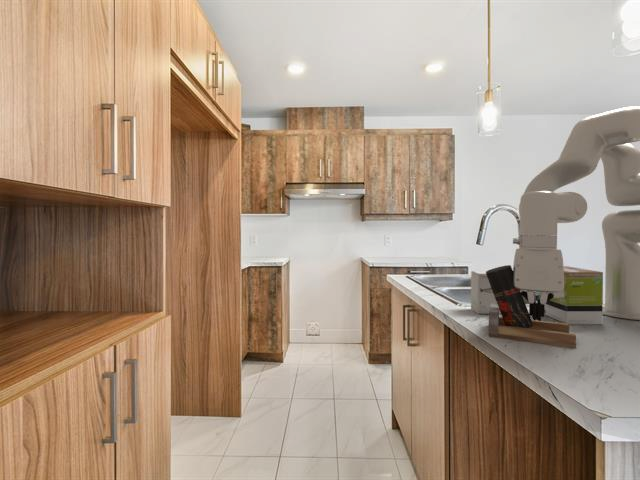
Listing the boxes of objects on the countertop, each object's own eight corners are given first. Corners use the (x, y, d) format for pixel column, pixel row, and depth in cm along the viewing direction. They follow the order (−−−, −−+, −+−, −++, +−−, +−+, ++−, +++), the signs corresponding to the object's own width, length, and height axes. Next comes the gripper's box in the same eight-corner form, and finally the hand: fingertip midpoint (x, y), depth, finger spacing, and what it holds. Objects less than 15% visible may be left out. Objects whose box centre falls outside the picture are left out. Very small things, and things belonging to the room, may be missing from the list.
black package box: (538, 325, 79) (515, 265, 81) (513, 332, 80) (491, 273, 81) (525, 320, 85) (504, 265, 87) (502, 327, 86) (481, 272, 87)
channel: (490, 324, 91) (490, 303, 91) (567, 333, 83) (568, 310, 83) (488, 336, 81) (488, 312, 80) (576, 348, 72) (576, 321, 72)
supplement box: (477, 314, 103) (477, 273, 103) (470, 308, 110) (470, 270, 110) (502, 315, 102) (503, 273, 101) (494, 309, 109) (494, 271, 109)
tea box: (533, 311, 106) (534, 265, 106) (566, 312, 105) (567, 265, 105) (565, 324, 91) (566, 270, 91) (604, 325, 90) (605, 270, 90)
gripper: (502, 243, 80) (501, 318, 81) (579, 244, 73) (578, 327, 73) (502, 242, 87) (501, 312, 87) (573, 243, 80) (572, 320, 80)
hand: (536, 319), depth 80 cm, fingers closed
